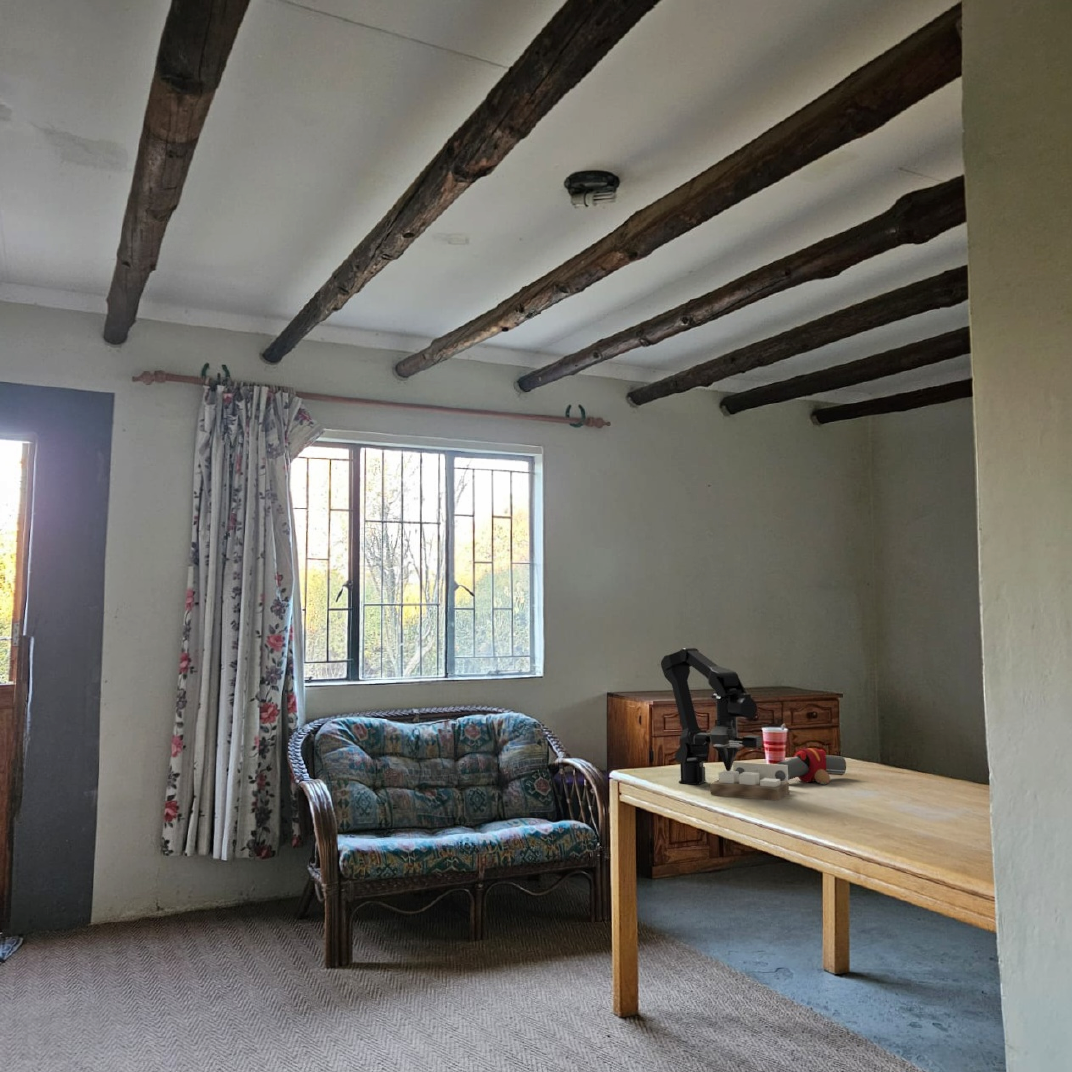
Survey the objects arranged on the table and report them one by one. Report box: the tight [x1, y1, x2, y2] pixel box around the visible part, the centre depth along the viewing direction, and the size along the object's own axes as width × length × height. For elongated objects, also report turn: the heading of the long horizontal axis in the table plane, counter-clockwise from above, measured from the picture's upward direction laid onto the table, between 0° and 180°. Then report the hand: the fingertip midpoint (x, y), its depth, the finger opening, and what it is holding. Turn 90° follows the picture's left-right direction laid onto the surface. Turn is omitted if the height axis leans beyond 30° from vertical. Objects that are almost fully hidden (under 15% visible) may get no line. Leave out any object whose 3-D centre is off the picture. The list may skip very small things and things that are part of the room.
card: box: [732, 761, 789, 783], centre depth 267 cm, size 16×1×7 cm, turn 59°
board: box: [709, 779, 790, 801], centre depth 258 cm, size 19×11×3 cm, turn 58°
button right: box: [760, 778, 781, 787], centre depth 255 cm, size 4×4×4 cm
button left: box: [718, 769, 739, 784], centre depth 262 cm, size 4×4×4 cm
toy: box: [776, 747, 847, 785], centre depth 276 cm, size 23×10×15 cm
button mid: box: [739, 772, 760, 785], centre depth 258 cm, size 4×4×4 cm
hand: (728, 770), depth 262 cm, fingers closed
